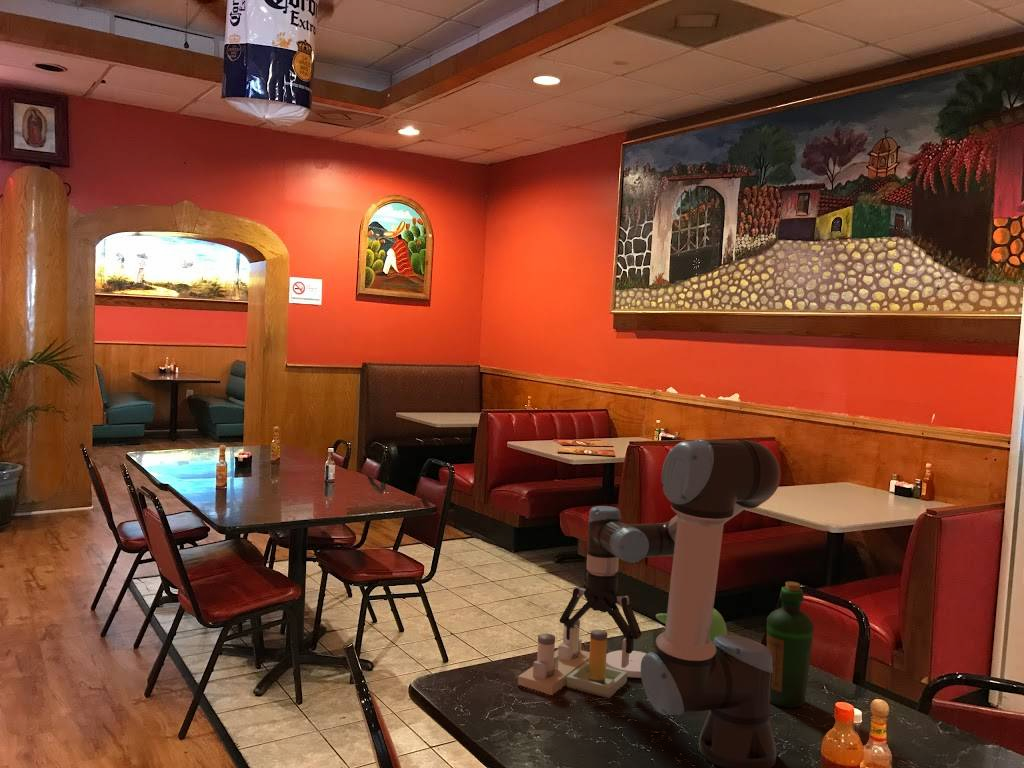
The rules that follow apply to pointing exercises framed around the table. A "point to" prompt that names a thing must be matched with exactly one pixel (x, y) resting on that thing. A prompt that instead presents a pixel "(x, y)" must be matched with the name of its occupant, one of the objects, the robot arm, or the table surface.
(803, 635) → the bottle
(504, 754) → the table surface
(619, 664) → the plastic lid
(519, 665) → the table surface
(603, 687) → the tray
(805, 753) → the table surface
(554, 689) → the block
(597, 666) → the cylinder
